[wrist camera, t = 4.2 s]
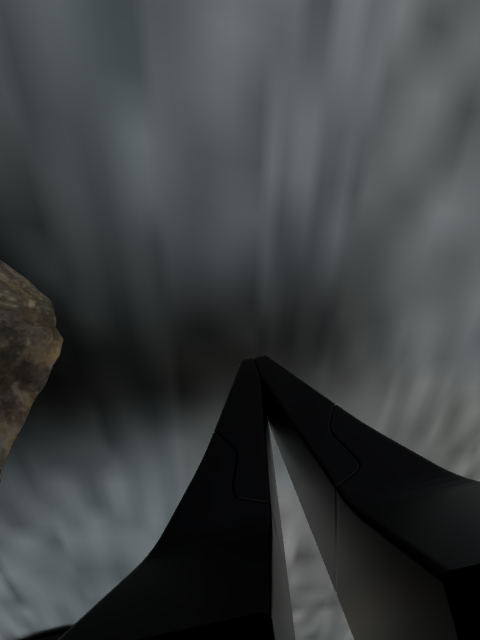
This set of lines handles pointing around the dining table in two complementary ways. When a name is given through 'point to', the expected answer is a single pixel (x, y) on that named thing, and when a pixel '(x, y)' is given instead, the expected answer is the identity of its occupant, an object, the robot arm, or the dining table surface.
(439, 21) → the dining table surface
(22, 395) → the rock
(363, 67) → the dining table surface
